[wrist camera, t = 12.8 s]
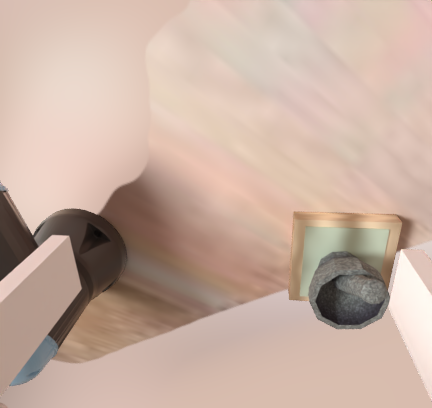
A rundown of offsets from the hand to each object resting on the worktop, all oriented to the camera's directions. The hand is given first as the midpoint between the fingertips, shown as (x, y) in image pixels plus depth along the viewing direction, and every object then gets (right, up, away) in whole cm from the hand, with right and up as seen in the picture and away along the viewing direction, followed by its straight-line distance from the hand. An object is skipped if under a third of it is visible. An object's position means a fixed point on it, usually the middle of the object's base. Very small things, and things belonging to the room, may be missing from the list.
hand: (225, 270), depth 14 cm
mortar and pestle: (+18, -6, +36) cm, 41 cm away
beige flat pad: (+18, -5, +38) cm, 43 cm away
